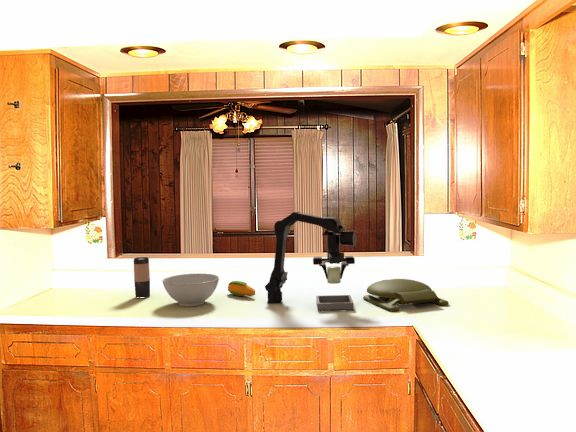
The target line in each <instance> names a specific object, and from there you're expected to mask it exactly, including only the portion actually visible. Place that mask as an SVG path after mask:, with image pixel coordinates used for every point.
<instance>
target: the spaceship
mask: <svg viewBox="0 0 576 432" xmlns="http://www.w3.org/2000/svg"><path fill="white" fill-rule="evenodd" d="M366 292H367V294H366V295H363V297H362V299H363V300H364V301H367V302H368V301H369V303H370V304H373V305H375V306H377V307H379V306H380V308H382V309H384V310H386V311H388V312H391V311H392V312H394V313H396V312H398V311H400V308H399V306H397V305H396V304H398V305H400V306H405V305H413V304H421V303H422V304H423V303H433V304H434V305H438V306H441V307H442V306H443V307H445V306H448V305H449V301H448V300H445V299H443V298H441V297H438V295H437V293H436V291H434V290H432V288H431V287H430V286H429V285H427V284H426V283H424V282H422V281H418V280H414V279H409V278H393V279H383V280H379V281H375V282H374V283H371V284H370V285H369V286H368V287H367V288H366ZM379 297H381V298H387V299H388V300H387V301H385V300H383V299H381V298H379Z"/></svg>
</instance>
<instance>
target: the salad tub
mask: <svg viewBox="0 0 576 432" xmlns="http://www.w3.org/2000/svg"><path fill="white" fill-rule="evenodd" d="M326 270H327V276H328V279H326V280H327V283H328V284H330V285H331V284H332V285H334V284H335V285H336V284H340V283H341V282H342V281H341V280H342V279H341V275H340V273H341V266H338V265H330V266H326Z"/></svg>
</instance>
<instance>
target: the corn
mask: <svg viewBox="0 0 576 432" xmlns="http://www.w3.org/2000/svg"><path fill="white" fill-rule="evenodd" d="M227 291H228V292H229V293H230V295H231V294H232V295H233V296H238V297H244V296H247V297H252V296H255V295H256V290H255V289H254V288H253V287H251V286H250V285H248V283H247V282H246V281H245V282H244V281H239V280H232V281H231V282H229V283H228V286H227Z"/></svg>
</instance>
